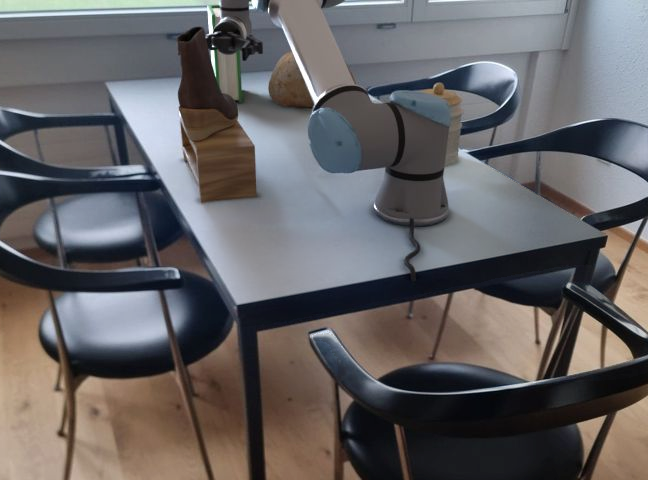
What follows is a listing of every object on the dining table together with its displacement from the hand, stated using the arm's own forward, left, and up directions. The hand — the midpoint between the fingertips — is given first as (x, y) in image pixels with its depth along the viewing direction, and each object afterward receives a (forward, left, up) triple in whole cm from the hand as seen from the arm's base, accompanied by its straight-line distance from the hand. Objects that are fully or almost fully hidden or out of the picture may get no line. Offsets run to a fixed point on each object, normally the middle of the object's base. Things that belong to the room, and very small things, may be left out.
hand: (213, 53), depth 156 cm
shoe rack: (-14, +3, -23) cm, 27 cm away
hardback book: (+56, -12, -24) cm, 62 cm away
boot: (-14, +3, -13) cm, 19 cm away
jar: (-14, -50, -24) cm, 57 cm away
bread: (+44, -36, -24) cm, 61 cm away
